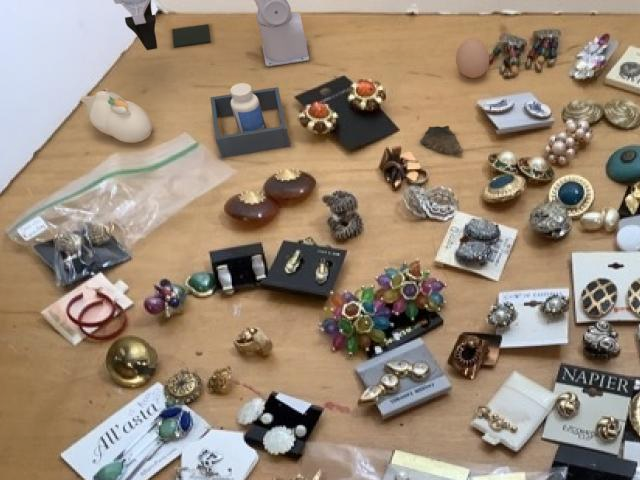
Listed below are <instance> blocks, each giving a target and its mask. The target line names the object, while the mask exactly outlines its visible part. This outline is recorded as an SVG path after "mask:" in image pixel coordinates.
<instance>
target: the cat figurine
mask: <svg viewBox="0 0 640 480" xmlns="http://www.w3.org/2000/svg"><path fill="white" fill-rule="evenodd" d="M80 101H81V103H82V104H83V105H84V106H85V107H86V114H87V118H88V120H89V121H90V123H91V124H92V125H93V127H94V128H96V129H97V130H98V131H100V132H101V133H103V134H105V135H107V136H112V137H113V138H114V139H116V140H117V141H120V142H124V143H128V144H129V143H131V144H132V143H139V142H143V141H145V140H147V139H148V138H149V137H150V136H151V134H152V130H153V125H152V121H151V119H150V116H149V115H148V114H147V112H146V111H145V110H144V109H143V108H142V107H141V106H140V105H138V104H136V103H135V102H132V101H129V100H125V99H123V97H122V96H120V95H119V94H117V93H116V92H113V91H111V90H110V89H109V88H108V87H107V88H106V87H105V88H104V89H103V90H100V91H99V90H98V91H97V92H96V93H95V94H94V95H84V96H81V98H80Z"/></svg>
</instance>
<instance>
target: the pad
mask: <svg viewBox="0 0 640 480" xmlns="http://www.w3.org/2000/svg"><path fill="white" fill-rule="evenodd" d="M171 31H172V42H173V43H172V44H173V47H174V48H182V47H189V46H196V45H203V44H210V43H212V42H211V41H212V40H211V33H210V25H209V24H208V23H206V24H199V25H191V26H185V27H184V26H183V27H177V28H171Z"/></svg>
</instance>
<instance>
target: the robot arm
mask: <svg viewBox="0 0 640 480" xmlns="http://www.w3.org/2000/svg"><path fill="white" fill-rule="evenodd" d="M253 1H254V3H255V5H256V7H257V12H256V21H257V25H258V29H259V33H260V37H261V42H262V45H261V47H262V52H263V58H264V63H265V64H264V65H265V66H266V67H269V68H270V67H275V66H281V65H288V64H296V63H303V62H308V61H310V56H309V50H308V46H309V43H308V39H307V37H306V36H305V35H306V34H305V30H304V26H303V21H302V17H301V16H302V15H301V13H300V12H299V11H298V12H297V11H296V12H295V11H292V9H291V6H290V3H289V2H288V0H253ZM113 2H114V5H115V4H116V5H118V4H121V6H122V7H123V8H124V9H125V10H127V12H128V13H129V14H130V15H131V16H125V17H124V22H125V25H126V27H127V28H129V29H130V30H131V31H132V32H133V33H134V34H135V35H136V36H137V38H138V39H139V41H140V42H141V44H142V46H143V47H144V49H145V50H146V51H152V50H157V49H158V41H157V36H156V22H157V18H156V14H153V11H152V0H113Z"/></svg>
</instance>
